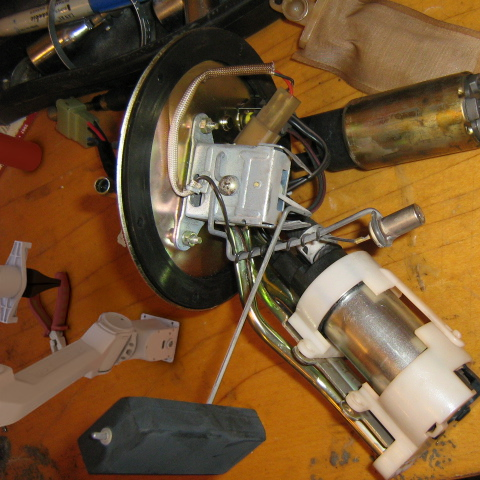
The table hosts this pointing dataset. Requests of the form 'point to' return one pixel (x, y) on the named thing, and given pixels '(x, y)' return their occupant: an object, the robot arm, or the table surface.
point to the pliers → (57, 325)
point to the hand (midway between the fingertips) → (57, 282)
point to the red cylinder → (19, 153)
